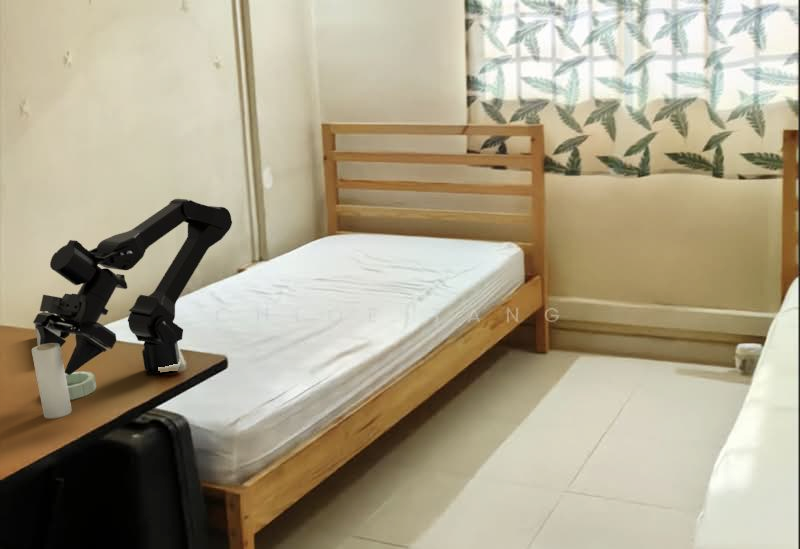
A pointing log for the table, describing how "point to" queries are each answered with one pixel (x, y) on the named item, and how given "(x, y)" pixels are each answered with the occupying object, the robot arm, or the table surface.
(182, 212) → the robot arm
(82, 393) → the holder
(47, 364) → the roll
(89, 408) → the table surface
